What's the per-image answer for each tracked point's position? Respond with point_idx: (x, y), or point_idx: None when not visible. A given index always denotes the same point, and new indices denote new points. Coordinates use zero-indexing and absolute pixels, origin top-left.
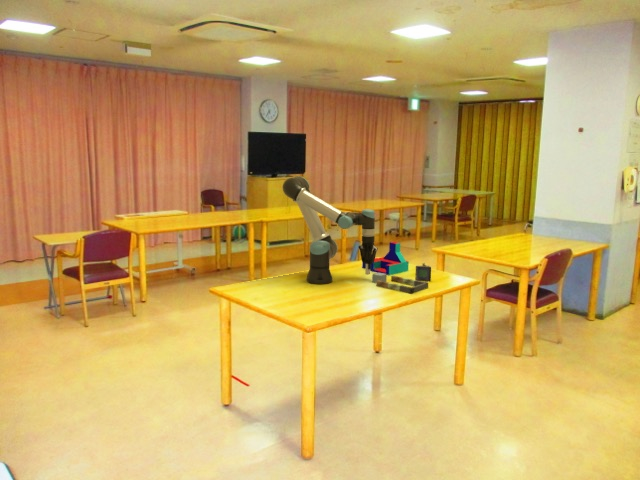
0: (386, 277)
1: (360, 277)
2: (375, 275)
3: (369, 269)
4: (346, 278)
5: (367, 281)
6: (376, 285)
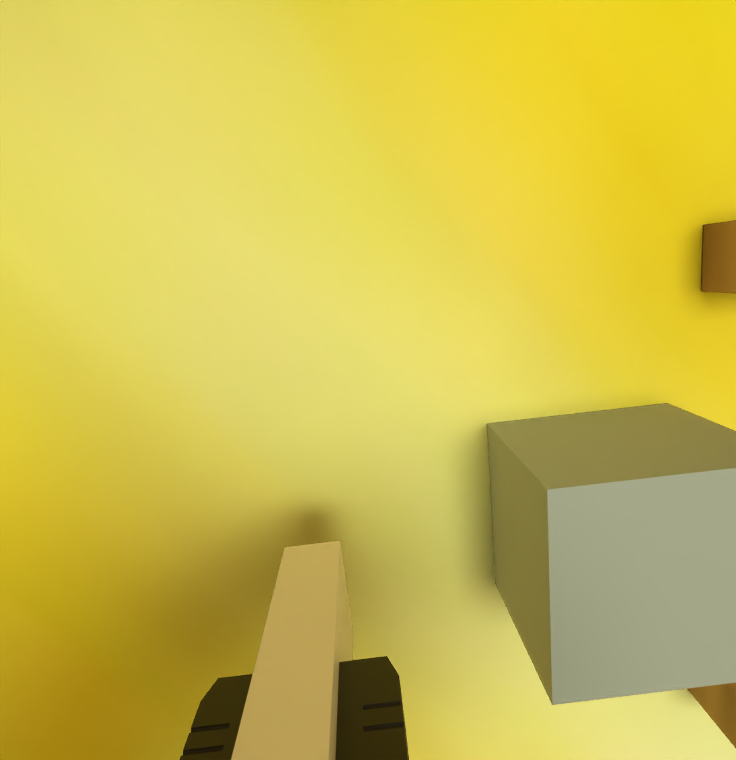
0: (733, 431)
1: (140, 526)
2: (631, 680)
3: (341, 646)
4: (60, 732)
5: (417, 613)
6: (696, 694)
